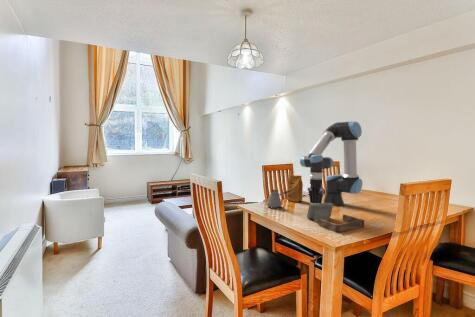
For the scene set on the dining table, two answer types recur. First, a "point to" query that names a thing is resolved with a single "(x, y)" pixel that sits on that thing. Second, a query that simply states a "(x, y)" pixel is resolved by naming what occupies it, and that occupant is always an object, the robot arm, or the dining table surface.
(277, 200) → the coffee pot
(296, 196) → the coffee package
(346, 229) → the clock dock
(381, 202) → the dining table surface
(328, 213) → the digital clock
